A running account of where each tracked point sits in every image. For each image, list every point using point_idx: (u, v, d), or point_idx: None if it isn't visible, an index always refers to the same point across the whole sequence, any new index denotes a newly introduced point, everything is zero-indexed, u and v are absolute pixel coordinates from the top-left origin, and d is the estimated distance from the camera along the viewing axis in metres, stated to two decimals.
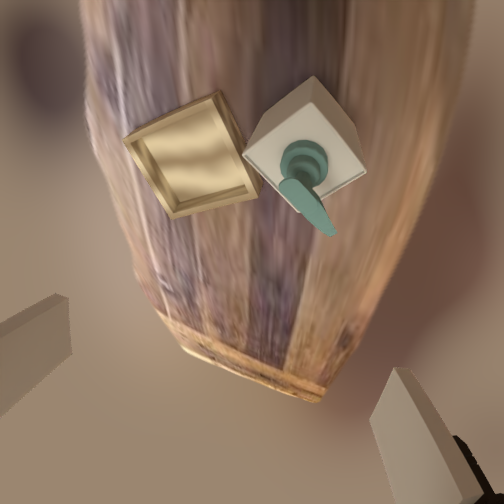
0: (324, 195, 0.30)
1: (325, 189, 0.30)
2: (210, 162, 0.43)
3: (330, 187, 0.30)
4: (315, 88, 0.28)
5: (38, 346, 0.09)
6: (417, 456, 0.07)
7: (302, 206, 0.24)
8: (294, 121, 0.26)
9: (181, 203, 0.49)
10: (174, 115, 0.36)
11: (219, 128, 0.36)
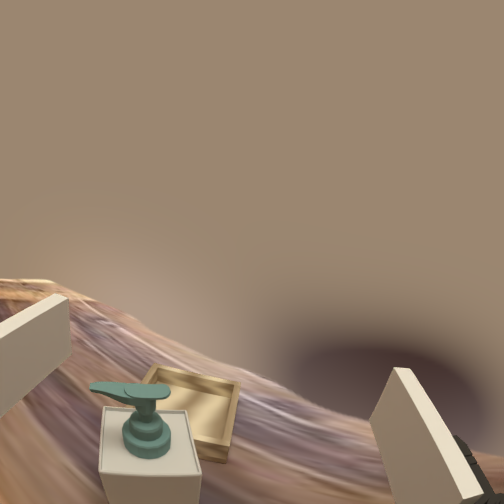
0: (103, 431, 0.22)
1: (106, 436, 0.22)
2: None
3: (106, 440, 0.21)
4: None
5: (38, 346, 0.09)
6: (417, 456, 0.07)
7: (135, 387, 0.22)
8: (189, 456, 0.22)
9: (156, 380, 0.48)
10: (233, 419, 0.39)
11: (199, 436, 0.35)
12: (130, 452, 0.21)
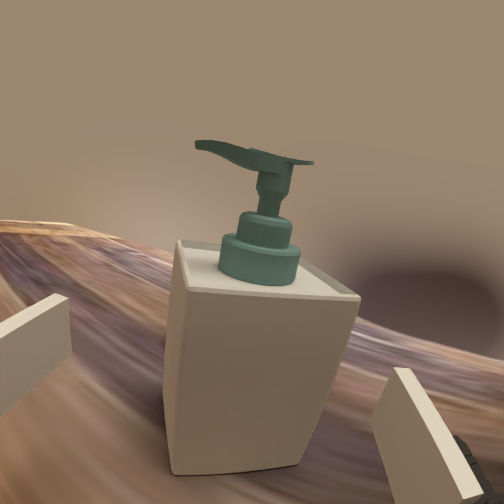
0: None
1: (189, 263, 0.17)
2: None
3: (189, 266, 0.16)
4: (322, 400, 0.16)
5: (38, 346, 0.09)
6: (417, 456, 0.07)
7: None
8: (326, 287, 0.17)
9: None
10: None
11: None
12: (236, 276, 0.16)
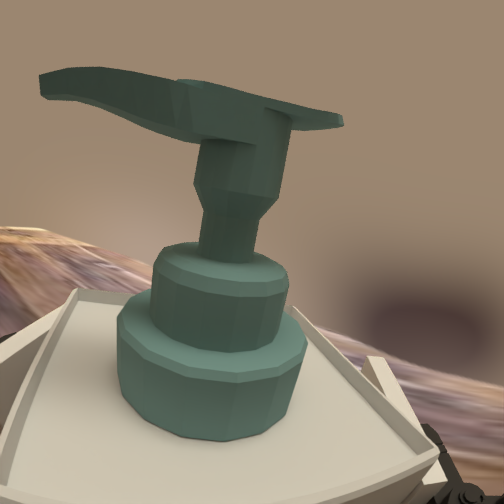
0: (53, 339, 0.07)
1: (61, 359, 0.06)
2: None
3: (55, 370, 0.06)
4: None
5: None
6: None
7: None
8: (361, 411, 0.07)
9: None
10: None
11: None
12: (144, 415, 0.05)
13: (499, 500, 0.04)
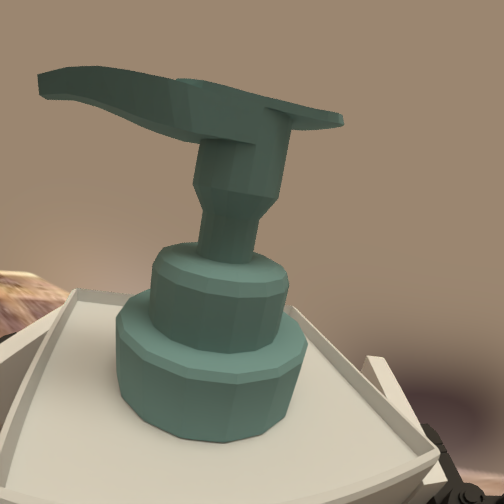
0: (51, 340, 0.07)
1: (60, 359, 0.06)
2: None
3: (54, 370, 0.06)
4: None
5: None
6: None
7: None
8: (361, 412, 0.07)
9: None
10: None
11: None
12: (143, 416, 0.05)
13: (499, 500, 0.04)
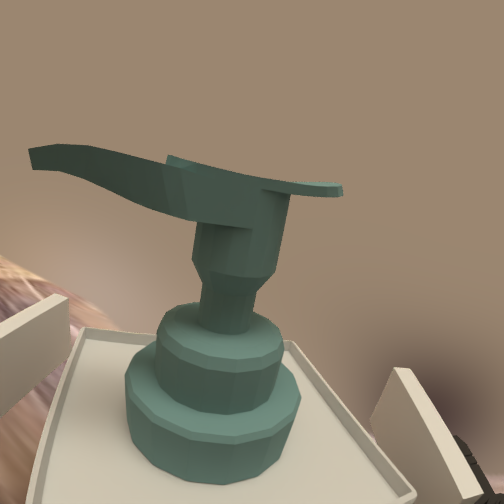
0: (65, 386, 0.07)
1: (73, 404, 0.07)
2: None
3: (69, 416, 0.06)
4: None
5: (38, 346, 0.09)
6: (417, 456, 0.07)
7: None
8: (349, 452, 0.07)
9: None
10: None
11: None
12: (153, 462, 0.06)
13: None
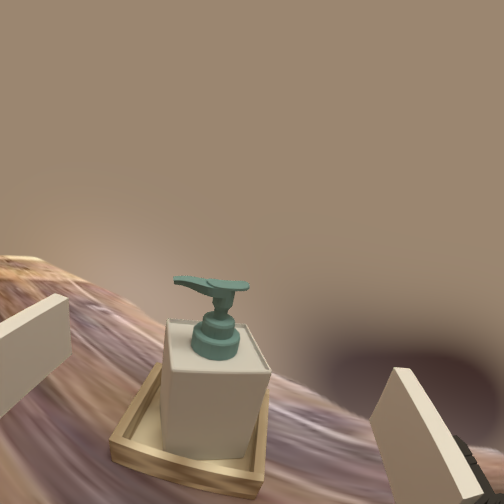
0: None
1: (173, 342, 0.27)
2: None
3: (173, 345, 0.27)
4: (252, 422, 0.27)
5: (38, 346, 0.09)
6: (417, 456, 0.07)
7: (216, 281, 0.27)
8: (256, 359, 0.27)
9: (159, 384, 0.37)
10: (264, 441, 0.28)
11: (221, 468, 0.24)
12: (200, 354, 0.26)
13: None
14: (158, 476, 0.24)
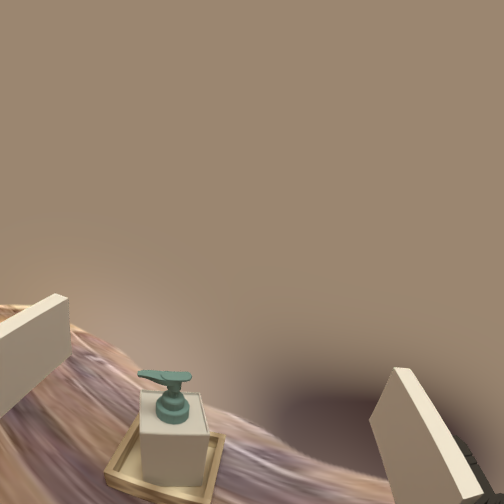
0: (141, 406, 0.35)
1: (143, 409, 0.35)
2: None
3: (143, 412, 0.34)
4: (202, 463, 0.34)
5: (38, 346, 0.09)
6: (417, 456, 0.07)
7: (168, 373, 0.34)
8: (201, 423, 0.35)
9: None
10: (215, 476, 0.35)
11: (180, 493, 0.31)
12: (161, 420, 0.34)
13: None
14: (139, 497, 0.31)
